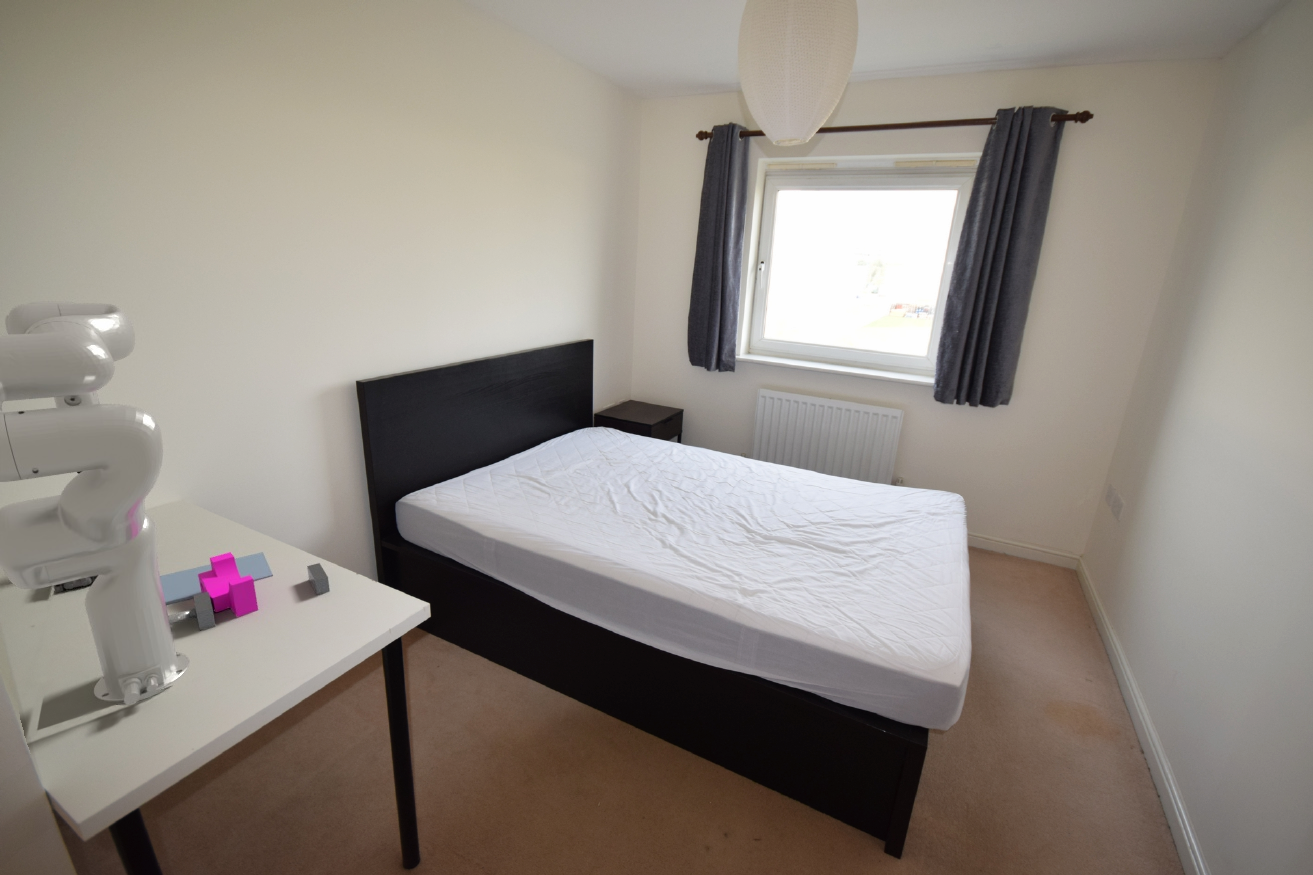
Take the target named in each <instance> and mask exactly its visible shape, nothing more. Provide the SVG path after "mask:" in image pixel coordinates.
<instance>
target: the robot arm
mask: <svg viewBox="0 0 1313 875" xmlns="http://www.w3.org/2000/svg"><path fill="white" fill-rule="evenodd" d="M4 323H5V329H6V332H7V334H0V483H7V482H18V481H23V480H24V481H25V480H31V479H38V478H43V477H50V476H58V475H63V474H72V473H77V475H75V476H74V477H73V478H72V479H71V480H70V481H69V482H68V483H67V484H66V486H65V487H64V488H63V490H62V491H61V493H60V494H57V495H53V496H45V497H40V498H35V499H27V500H23V501H18V502H15V503H14V502H13V503H10V504H7V505H4V506H2V507H0V568H1V571H2V572H3V573H4V575H5V576H6V578H7V579H8V580H9V581H10V583H12V585H14V586H16V587H17V588H19V589H23V590H29V591H31V590H38V589H44V588H48V587H51V586H52V587H54V586H53V585H57V584H61V583H65V582H69V581H73V580H77V579H81V578H85V577H91V576H96V575H98V577H97V578H96V580H95V581H94V582H92V583H91V584H90V587H89V588H88V590H87V592H86V594H85V599H84V600H85V601H84V606H85V612H86V614H87V618H88V622H89V625H90V628H91V633H92V638H93V640H94V644H95V649H96V652H97V655H98V659H99V664H100V668H101V671H102V674H103V676H102V677H100V679H99V680H98V681H97V682H96V684H95V685H94V688H93V694H94V696H95V698H97V699H98V700H100V701H104V702H110V703H112V702H113V703H114V702H115V703H116V702H119V703H117V705H124V704H126V705H132V704H135V703H137V702H139V701H143V700H145V699H148V698H151V697H153V696H156V695H158V694H160V693H162V692H165V691H166V690H168V689H170V688H172V687H173V685H171V684H173V683H174V682H175V681H177V680H178V679H179V678H181V677H182V676H183V675H184V674H185V672H186V671H187V670H188V668H189V667H190V659H189V657H188V656H187V655H186V654H184V653H182V652H178V651H176V646H175V642H174V637H173V632H172V628H171V624H170V623H169V618H168V616H169V615H168V609H167V605H166V604H165V599H164V595H163V590H162V585H161V580H160V576H161V575H160V570H159V560H158V559H159V558H158V557H159V556H158V530H157V525H156V522H155V521H154V518H153V517H152V516H151V515H150V514H148V513H146V507H145V506H146V503H145V500H146V498H147V496H148V495H149V494H150V492H152V489H153V488H154V486H155V485H156V483H157V481H158V478H159V475H160V472H161V469H162V466H163V465H162V464H163V455H164V453H163V452H164V449H163V448H164V447H163V438H162V432H161V429H160V427H159V424H158V422H157V420H156V419H155V417H154V416H153V415H151V413H149V412H148V411H146V410H145V409H142V408H140V407H137V406H131V405H127V404H119V403H117V404H116V403H114V404H112V403H100V400H99V397H98V392H97V391H99V390H101V389H103V388H104V387H105V386H107V385H108V384H109V383H110V382H111V380H112V379H113V377H114V375H115V369H116V367H115V362H117V361H119V360H122V359H124V358H127V357H129V356H130V355H131V353H132V352H133V351H134V349H135V344H136V336H135V330H134V326H133V323H132V321H131V320H130V318H129V316H128V315H127V314H126V312H125V311H124V309H123V308H121V307H119V306H118V305H116V304H111V303H85V302H84V303H76V302H72V301H71V302H70V301H33V302H28V303H24V304H18V305H17V306H14V307H13V308H11V310H10V311H9V312H8V314H6V315H5V319H4ZM47 398H54V402H55V407H49V408H40V409H29V410H17V411H8V412H7V411H3V403H4V402H11V401H24V400H35V399H47ZM169 685H170V686H169Z"/></svg>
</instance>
